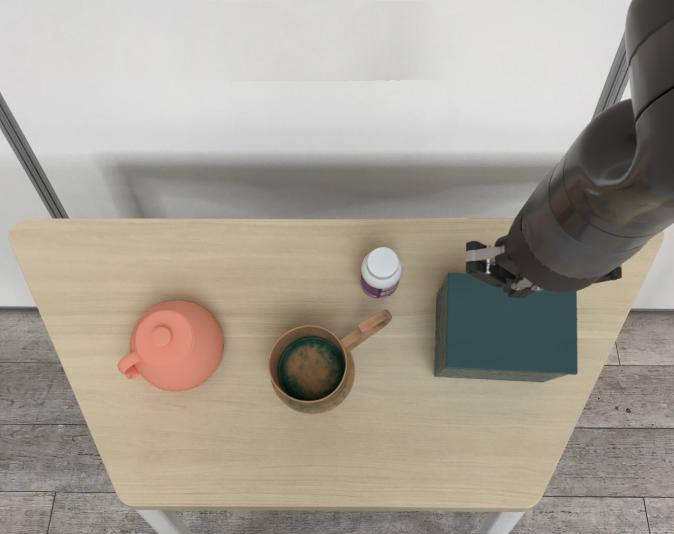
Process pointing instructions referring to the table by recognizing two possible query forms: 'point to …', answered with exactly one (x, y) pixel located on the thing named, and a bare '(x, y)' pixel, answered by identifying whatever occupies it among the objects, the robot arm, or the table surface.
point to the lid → (509, 329)
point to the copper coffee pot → (317, 364)
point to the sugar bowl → (174, 346)
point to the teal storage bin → (466, 373)
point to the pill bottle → (380, 273)
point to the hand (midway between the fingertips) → (515, 287)
